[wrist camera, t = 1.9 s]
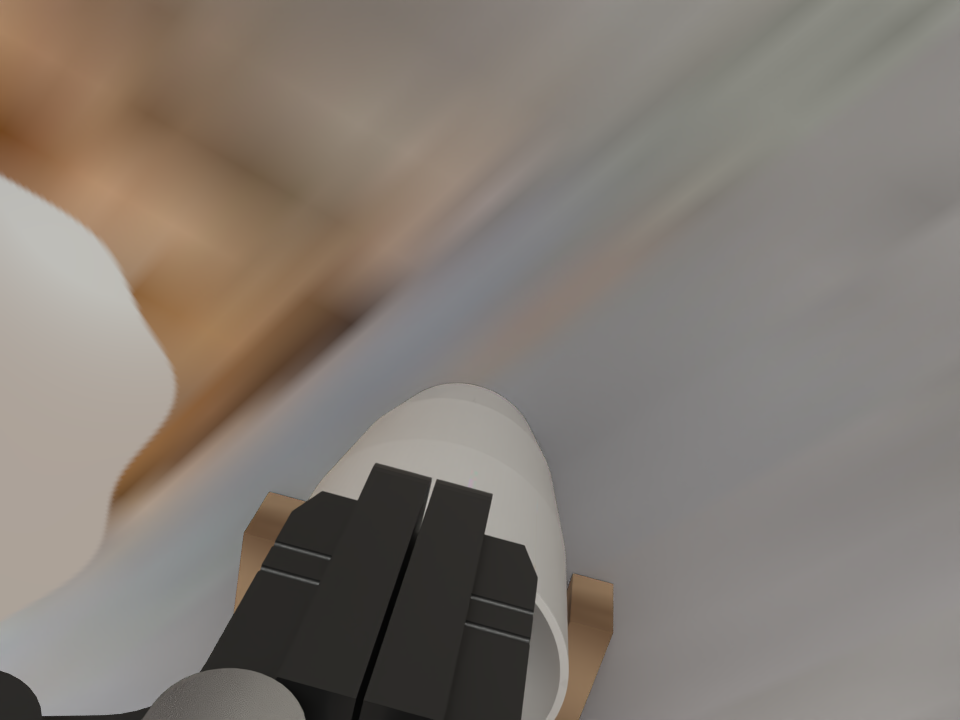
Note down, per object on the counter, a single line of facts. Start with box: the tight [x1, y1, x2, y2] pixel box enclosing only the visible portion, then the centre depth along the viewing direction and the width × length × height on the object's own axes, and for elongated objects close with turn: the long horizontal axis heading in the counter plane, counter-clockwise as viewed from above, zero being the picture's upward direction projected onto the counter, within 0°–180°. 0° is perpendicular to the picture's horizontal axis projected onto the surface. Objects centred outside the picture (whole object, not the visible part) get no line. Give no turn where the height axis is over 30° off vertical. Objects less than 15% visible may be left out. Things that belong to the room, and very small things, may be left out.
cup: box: [308, 383, 569, 720], centre depth 26 cm, size 8×8×10 cm
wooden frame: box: [234, 492, 613, 720], centre depth 34 cm, size 14×13×4 cm
